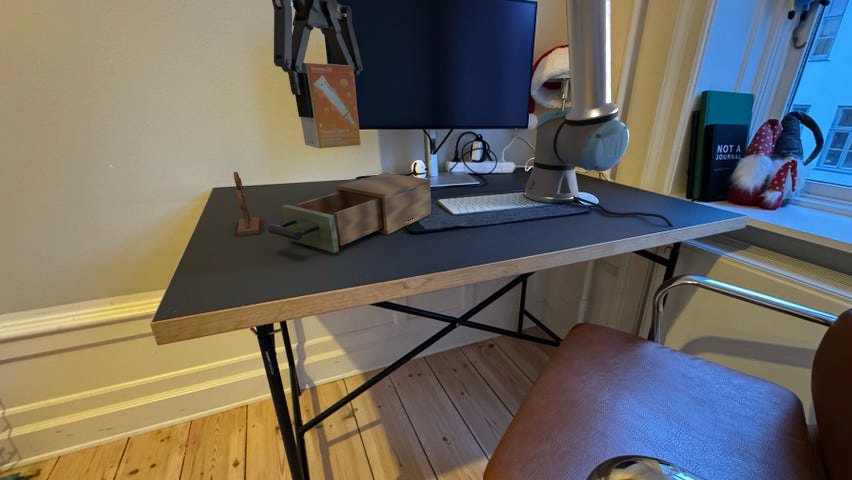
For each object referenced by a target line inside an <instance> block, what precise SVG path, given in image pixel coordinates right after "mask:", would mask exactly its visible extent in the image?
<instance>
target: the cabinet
mask: <svg viewBox="0 0 852 480" xmlns="http://www.w3.org/2000/svg"><path fill="white" fill-rule="evenodd" d="M335 188H336V190H335V191H336V193H337V192H341V191H349V192H354V193H359V194H364V195H370V196H375V197H380V198H382V206H383V218H384V228H381V229H379V230H377V231H374V232H376V233H379V234H384V235H390V234H392V233H394V232H396V231H398V230H400V229H402V228H404V227H406V226H409V225H411V224H413V223H415V222H418V221H419V220H421V219H423V218H425V217H428V216H430V215H432V196H431V192H432V191H431V190H432V188H431V179H430V178H424V177H418V176H410V175H403V174H397V173H390V172H383V173H379V174H375V175H372V176H368V177H363V178H359V179H356V180H352V181H347V182H344V183H341V184H337V185H335ZM412 218H413V219H412ZM410 219H411V220H410ZM408 220H409V221H408Z"/></svg>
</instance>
